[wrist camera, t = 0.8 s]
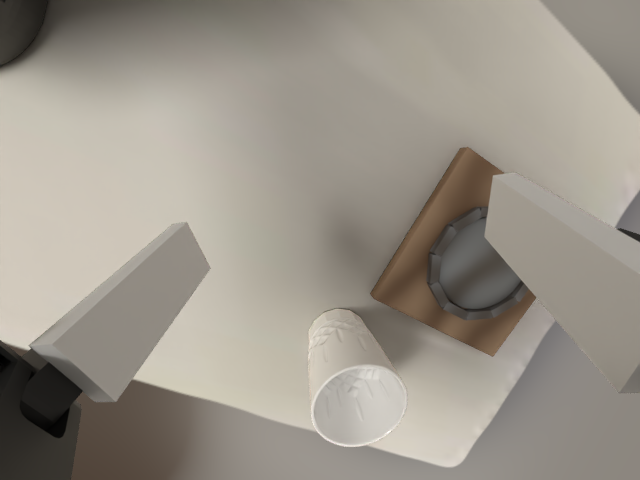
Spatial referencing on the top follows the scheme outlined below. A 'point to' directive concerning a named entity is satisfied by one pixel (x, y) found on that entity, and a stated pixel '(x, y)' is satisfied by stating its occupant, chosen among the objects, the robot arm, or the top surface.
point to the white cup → (351, 382)
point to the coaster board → (456, 263)
